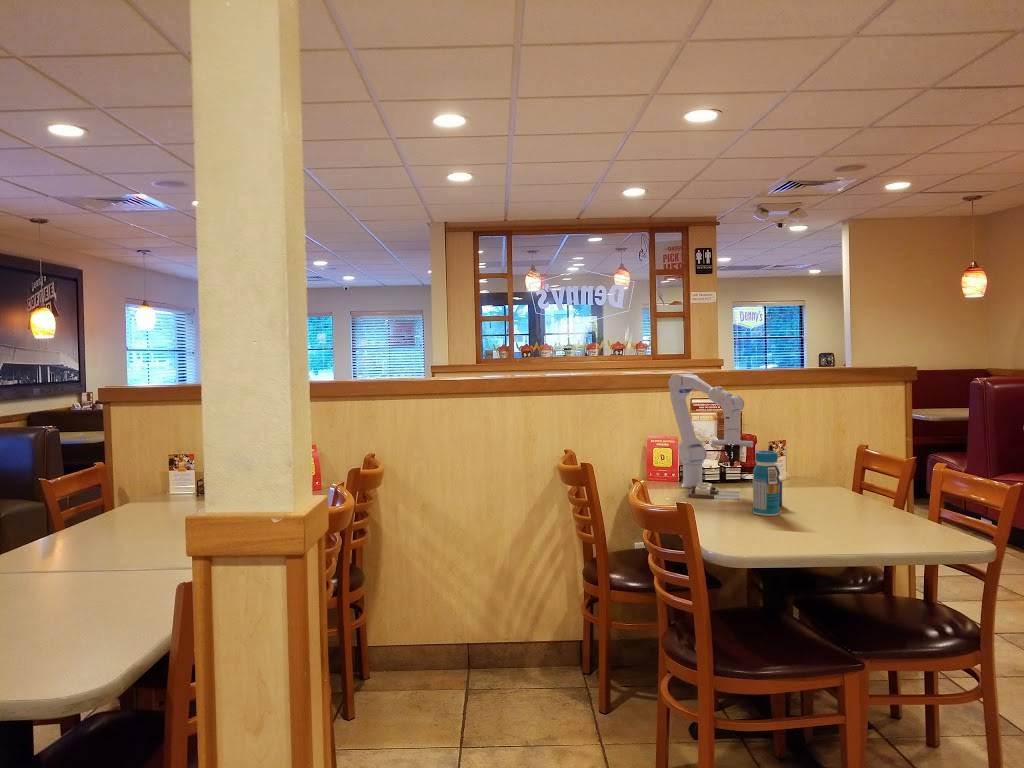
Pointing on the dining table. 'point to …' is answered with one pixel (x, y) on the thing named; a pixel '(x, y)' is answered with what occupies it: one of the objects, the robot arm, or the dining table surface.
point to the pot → (702, 490)
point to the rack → (714, 494)
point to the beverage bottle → (766, 484)
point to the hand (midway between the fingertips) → (731, 465)
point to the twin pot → (705, 485)
